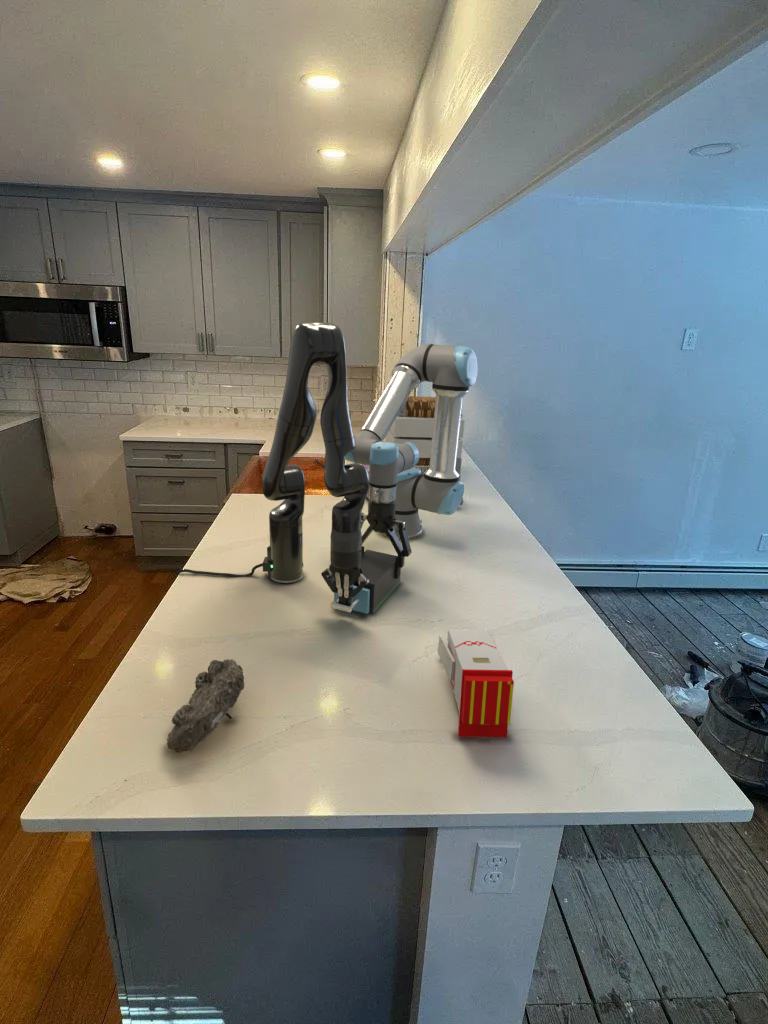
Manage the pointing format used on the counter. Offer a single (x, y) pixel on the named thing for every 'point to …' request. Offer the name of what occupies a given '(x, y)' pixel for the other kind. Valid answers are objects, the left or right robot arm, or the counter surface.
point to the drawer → (355, 601)
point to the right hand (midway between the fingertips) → (378, 572)
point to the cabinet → (379, 576)
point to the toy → (478, 682)
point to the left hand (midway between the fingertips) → (344, 608)
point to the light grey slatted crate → (420, 428)
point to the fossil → (206, 705)
